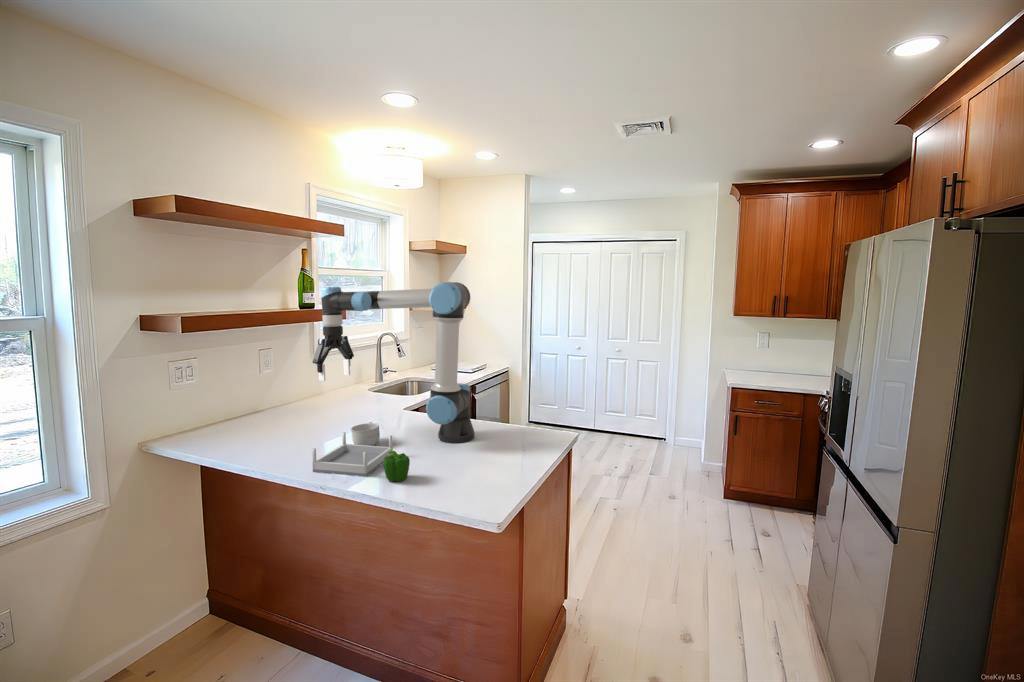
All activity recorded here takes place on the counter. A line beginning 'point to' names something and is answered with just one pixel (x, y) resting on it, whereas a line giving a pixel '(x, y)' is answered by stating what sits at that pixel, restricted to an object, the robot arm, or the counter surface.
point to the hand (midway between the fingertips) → (334, 377)
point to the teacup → (365, 434)
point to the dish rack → (351, 459)
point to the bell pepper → (396, 466)
